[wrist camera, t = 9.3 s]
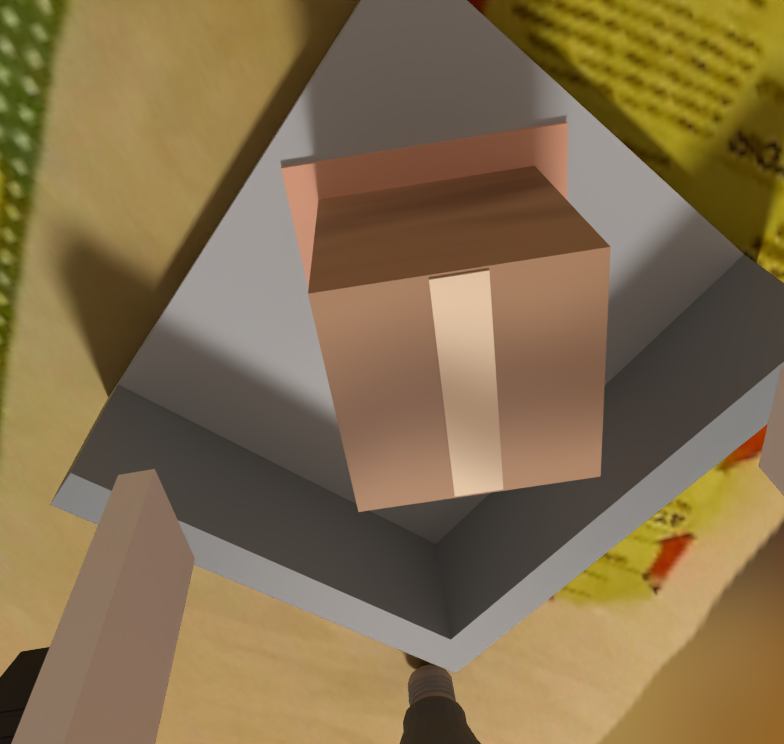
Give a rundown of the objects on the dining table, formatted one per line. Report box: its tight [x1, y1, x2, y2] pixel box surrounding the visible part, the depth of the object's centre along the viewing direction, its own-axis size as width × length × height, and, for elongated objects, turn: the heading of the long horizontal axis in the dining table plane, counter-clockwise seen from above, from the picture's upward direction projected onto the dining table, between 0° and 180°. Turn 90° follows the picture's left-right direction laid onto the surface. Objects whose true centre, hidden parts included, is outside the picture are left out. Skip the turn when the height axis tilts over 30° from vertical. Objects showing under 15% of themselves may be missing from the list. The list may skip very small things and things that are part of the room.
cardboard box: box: [308, 166, 611, 512], centre depth 20 cm, size 7×7×7 cm
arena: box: [50, 0, 784, 673], centre depth 23 cm, size 17×19×6 cm
